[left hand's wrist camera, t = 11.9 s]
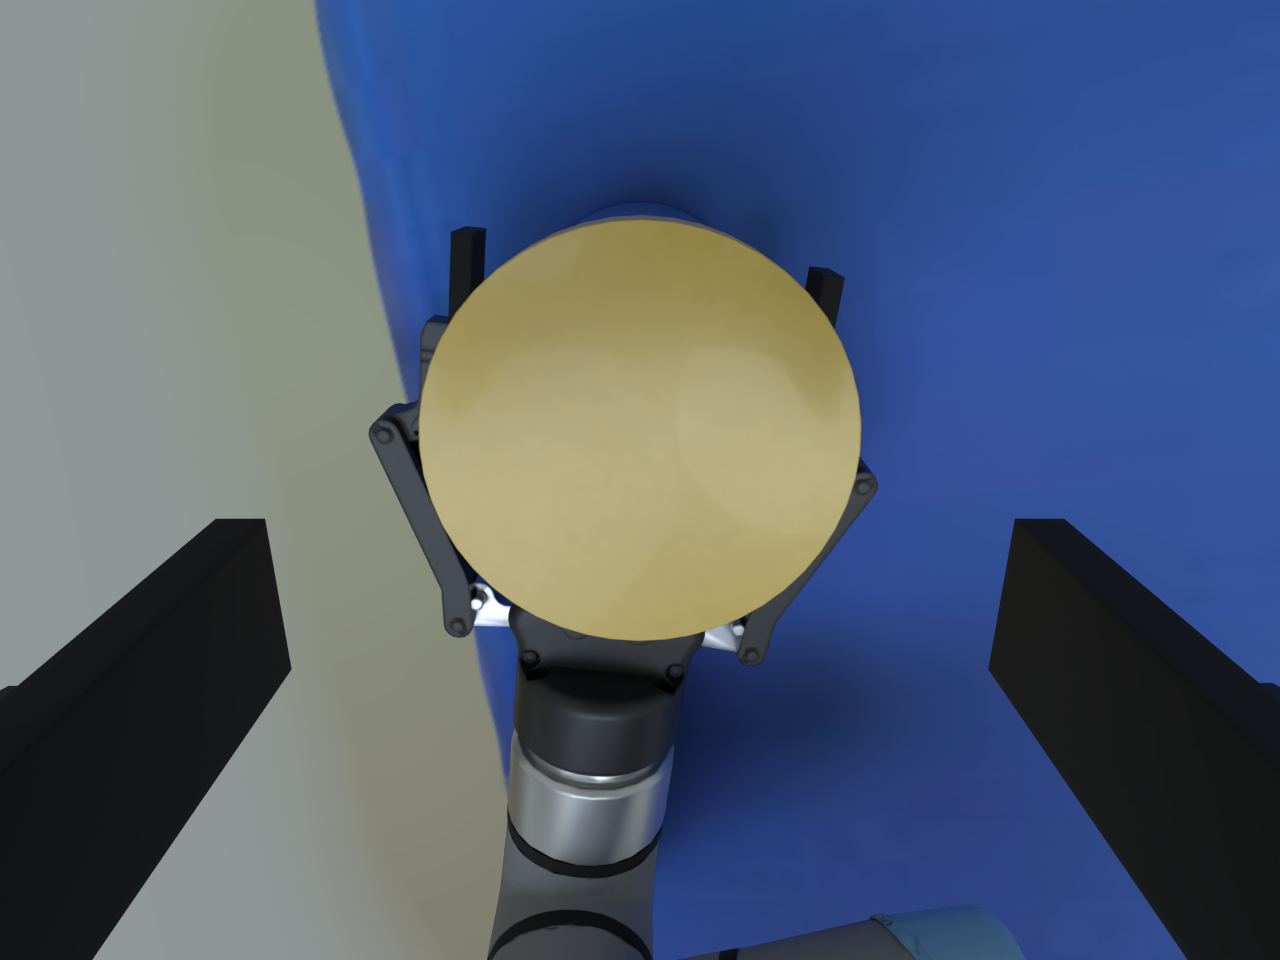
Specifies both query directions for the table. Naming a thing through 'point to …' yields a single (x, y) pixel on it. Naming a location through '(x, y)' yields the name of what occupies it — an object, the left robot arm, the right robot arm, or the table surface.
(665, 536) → the lid
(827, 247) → the table surface
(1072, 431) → the table surface
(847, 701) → the table surface
